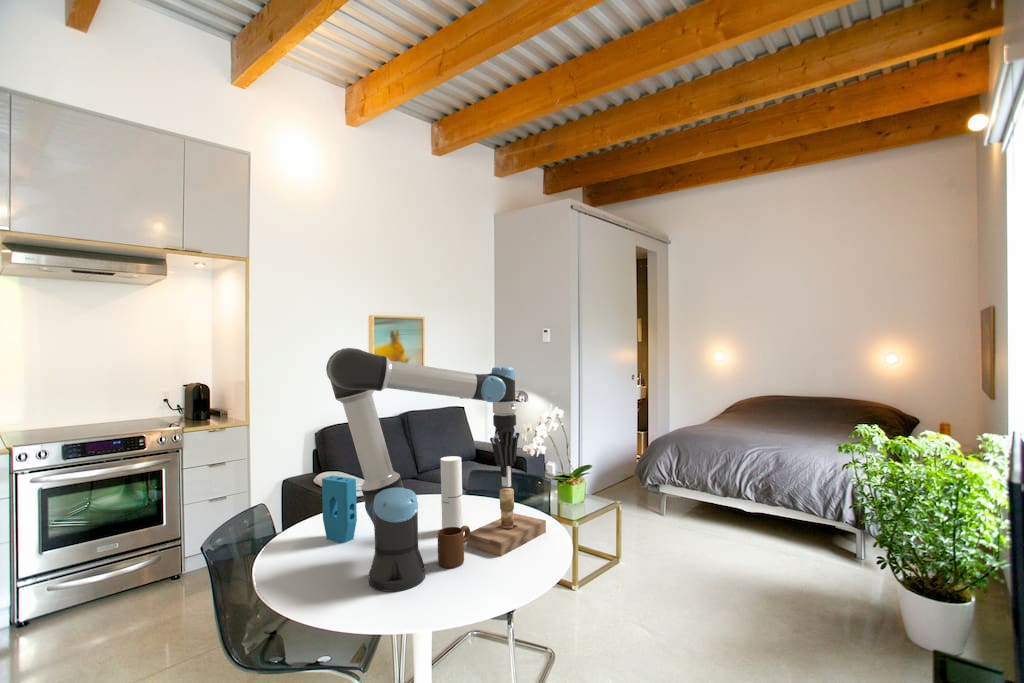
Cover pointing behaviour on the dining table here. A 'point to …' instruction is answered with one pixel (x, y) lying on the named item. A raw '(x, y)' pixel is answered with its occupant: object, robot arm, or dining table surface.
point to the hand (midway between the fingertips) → (506, 485)
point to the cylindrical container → (451, 492)
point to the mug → (452, 546)
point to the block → (339, 508)
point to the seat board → (506, 535)
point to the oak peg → (507, 508)
